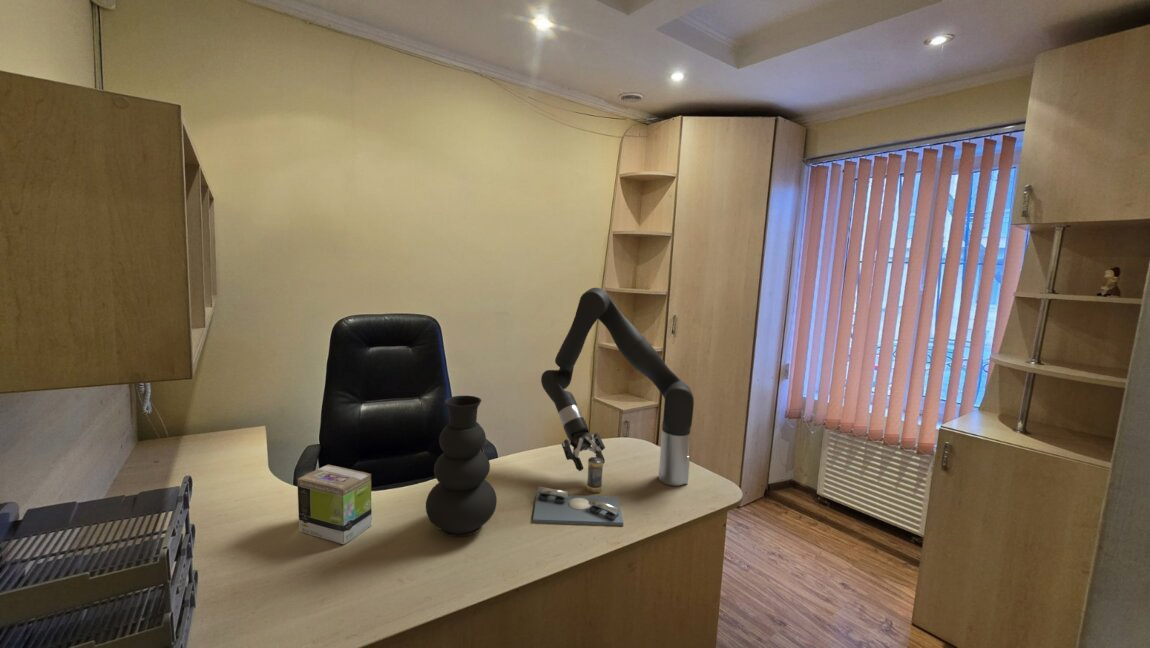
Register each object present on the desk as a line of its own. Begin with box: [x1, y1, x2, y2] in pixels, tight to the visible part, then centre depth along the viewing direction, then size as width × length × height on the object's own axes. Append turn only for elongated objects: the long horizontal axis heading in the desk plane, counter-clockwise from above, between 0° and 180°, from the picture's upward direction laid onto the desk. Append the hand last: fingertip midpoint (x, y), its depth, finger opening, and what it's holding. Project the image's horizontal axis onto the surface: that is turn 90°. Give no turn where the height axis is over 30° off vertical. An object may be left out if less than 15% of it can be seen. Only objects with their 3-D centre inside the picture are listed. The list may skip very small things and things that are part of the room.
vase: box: [425, 395, 498, 537], centre depth 123 cm, size 18×18×35 cm
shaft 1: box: [537, 486, 570, 504], centre depth 140 cm, size 9×4×4 cm, turn 76°
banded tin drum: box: [586, 456, 604, 494], centre depth 149 cm, size 5×5×10 cm
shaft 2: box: [589, 498, 619, 521], centre depth 134 cm, size 9×4×4 cm, turn 56°
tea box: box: [296, 464, 373, 545], centre depth 121 cm, size 15×10×15 cm, turn 71°
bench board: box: [532, 493, 624, 527], centre depth 136 cm, size 25×14×1 cm, turn 91°
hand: (592, 467), depth 150 cm, fingers open, 8 cm apart
